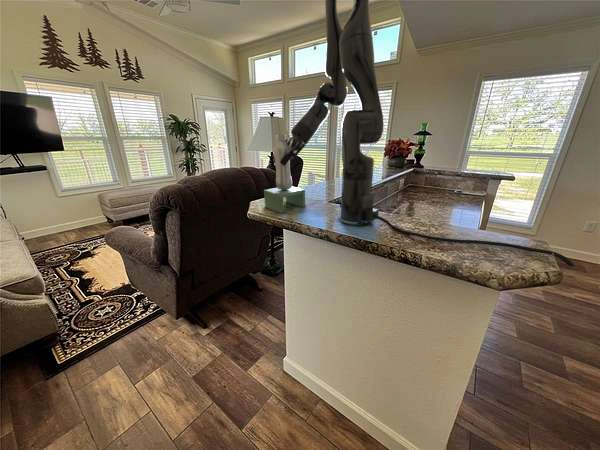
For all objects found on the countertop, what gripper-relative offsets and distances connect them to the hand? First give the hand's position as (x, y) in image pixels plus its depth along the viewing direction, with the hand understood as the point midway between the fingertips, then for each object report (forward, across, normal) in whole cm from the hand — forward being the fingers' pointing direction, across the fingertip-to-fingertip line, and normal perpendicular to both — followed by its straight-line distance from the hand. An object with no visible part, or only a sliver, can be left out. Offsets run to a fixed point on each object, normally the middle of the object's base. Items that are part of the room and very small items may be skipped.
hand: (278, 163), depth 87 cm
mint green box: (+11, 0, +14) cm, 17 cm away
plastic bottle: (+6, 0, +9) cm, 11 cm away
